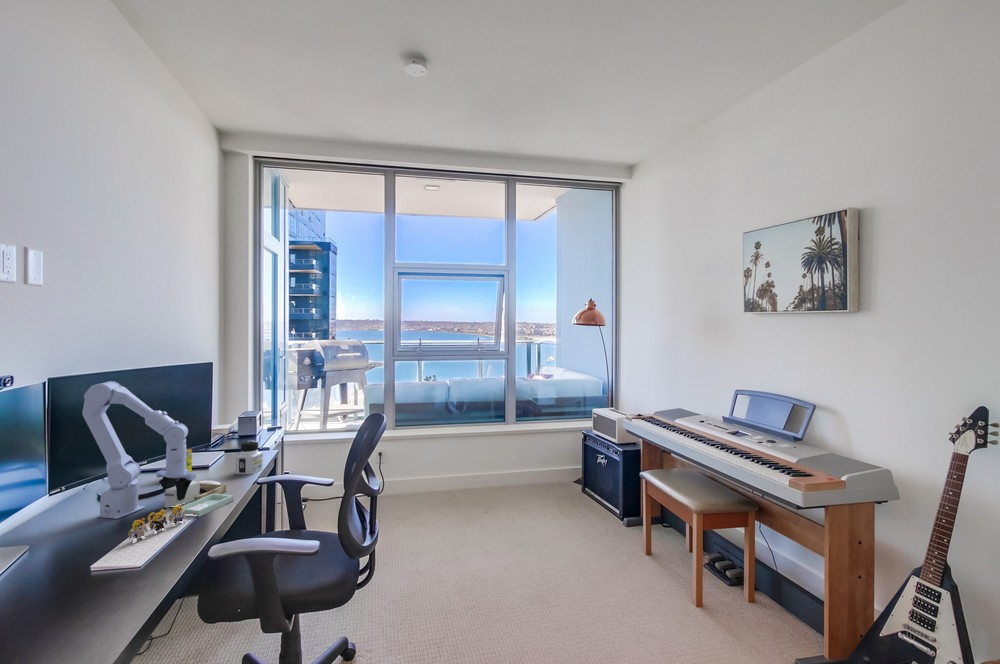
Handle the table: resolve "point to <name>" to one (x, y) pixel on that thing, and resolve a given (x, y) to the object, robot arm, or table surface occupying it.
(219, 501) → the tray
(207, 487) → the oak bay
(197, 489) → the white rectangular brick
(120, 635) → the table surface
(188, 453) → the supplement box
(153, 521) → the figurine set
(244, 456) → the container
